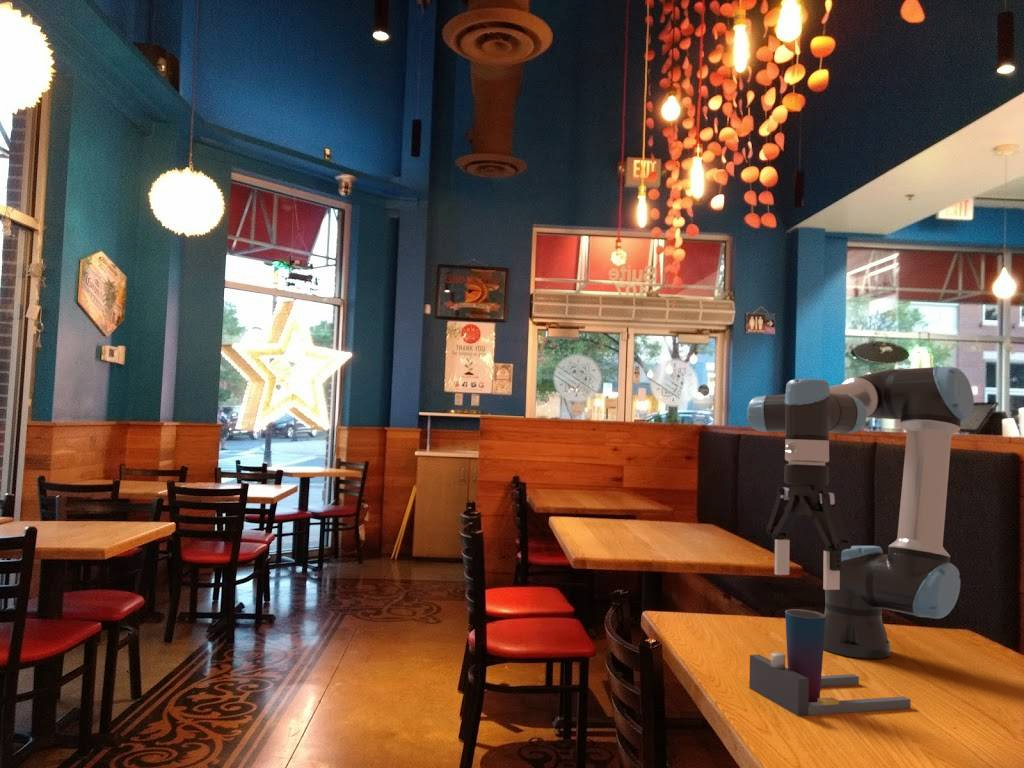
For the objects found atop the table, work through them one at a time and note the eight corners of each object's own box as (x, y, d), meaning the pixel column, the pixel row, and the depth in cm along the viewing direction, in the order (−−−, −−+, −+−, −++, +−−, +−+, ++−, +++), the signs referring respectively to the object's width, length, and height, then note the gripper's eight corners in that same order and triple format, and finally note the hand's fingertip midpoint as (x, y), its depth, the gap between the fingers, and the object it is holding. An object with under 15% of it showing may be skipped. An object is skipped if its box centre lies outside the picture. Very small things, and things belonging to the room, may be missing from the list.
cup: (828, 708, 127) (829, 619, 129) (787, 703, 129) (788, 616, 130) (820, 695, 134) (821, 611, 135) (781, 691, 135) (782, 607, 137)
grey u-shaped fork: (853, 681, 143) (853, 639, 143) (910, 708, 129) (910, 661, 130) (748, 688, 136) (748, 643, 137) (797, 716, 123) (797, 667, 123)
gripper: (748, 460, 146) (747, 569, 144) (836, 466, 122) (836, 596, 120) (781, 461, 148) (780, 568, 146) (874, 467, 124) (874, 595, 122)
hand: (805, 581), depth 133 cm, fingers open, 13 cm apart
